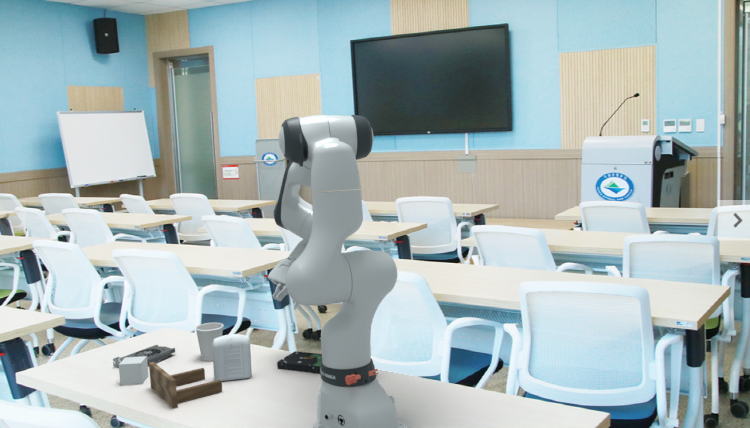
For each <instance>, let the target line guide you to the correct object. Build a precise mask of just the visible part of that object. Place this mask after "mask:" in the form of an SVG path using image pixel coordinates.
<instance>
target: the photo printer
mask: <svg viewBox="0 0 750 428" xmlns="http://www.w3.org/2000/svg"><path fill="white" fill-rule="evenodd" d="M212 350H213V361H212V365H213V367H212V368H213V381H216V380H221V381H222V382H223V381H232V380H243V379H250V378H252V376H253V374H252V373H253V372H252V355H251V354H252V353H251V343H250V338H249V336H248V335H247V334H246V335H245V334H240V333H239V334H238V333H231V334H225V335H222V336H220V337H218V338H215V339H214V342H213V345H212Z"/></svg>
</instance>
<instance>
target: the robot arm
mask: <svg viewBox="0 0 750 428" xmlns="http://www.w3.org/2000/svg"><path fill="white" fill-rule="evenodd" d="M280 127H281V128H280V130H279V134H278V145H279V149H280V151H281V153H282V155H283V157H284V158H285V159H286V160H288V161H289V162H288V164H287V165H286V167H285V170H284V173H283V178H282V182H281V186H280V191H279V196H278V199H277V201H276V204H275V207H274V209H273V219H274V221H275V224H276V225H277V226H278V227H280V228H281V229H282V228H283V229H285V230H286V231H289V232H291V233H292V234H293V235H296V236H297V237H299V238H301V239H302V240H300V241H299V242H298V243H297V245H296V246H295V247H294V248H293V250H292V251H291V252H290V253H289V255H288V257H286V258H283V259H281V260H280V261H278V262H277V264H275V266H274V267H273V268H272V269H271V270H270V272H269V274H268V275H267V278H268V280H269V281H271V282H272V283H273V284H274V285H276V287H275V291H274V293H273V294H272V295H271V297H272V298H273V299H274V300H275V301H278V302H282V300H283V299H284V298H285V297H286V296H287V295H289V297H290V298H291V300H292V301H294V303H295V304H297V305H298V306H299V305H301V306H313V307H314V306H315V307H317V306H318V307H319V306H325V305H332V304H333V305H334V304H340V303H342V305H341V307H340V309H339V310H338V312H337V313H336V314H335V315H334V316H332V317H330V319H328V320H327V321H326V322H325V323H324V325H323V327H322V329H321V332H320V342H321V343H320V344H321V354H322V362H321V367H320V372H321V374H320V379H321V380H322V383H321V386H320V389H319V391H318V393H317V403H316V404H317V407H316V423H314V425H312V428H409V427H408V426H407V425H406V424H405V423H404V422H402V421H401V420H400V419H398V415H397V408H396V405H395V398H394V396H393V395H388V393H387V392H386V391H385V389H384V388H383V386H382V385H381V383H380V382H379V381H378V379H377V375H378V374H379V373H378V372H377V371H378V368H376V367H375V364H374V361H373V359H372V358H371V357H372V354H371V350H372V349H371V350H370V345H371V336H372V335H371V333H372V324H373V322H374V321H373V320H374V317H375V314H376V312H377V310H378V308H379V306H380V304H381V303H382V301H383V300H384V299H385V298H386V296H387V295H388V294H390V293H391V291H393V289H394V287H395V286H396V283H397V279H398V268H397V267H398V266H397V265H396V262H395V260H394V259H393V257H392V256H391V255H390V254H389V253H388V252H386V251H380V250H371V249H369V250H368V249H364V250H356V251H348V252H342V249H343V246H344V243H345V241H346V240H347V239H348V238H349V237H350V236H352V235H354V234H355V233H356V232H358V230H360V227H362V224H363V221H364V213H363V201H362V200H363V198H362V189H361V188H362V186H361V178H360V172H359V167H358V165H359V164H358V161H359V160H361V159H364V158H367V157H368V156H369V155H370V153H371V152H372V149H373V146H374V131H373V128H372V126H371V123H370V121H369V120H368V119H367V118H366V117H365V116H362V115H358V114H357V115H356V114H352V115H343V114H339V115H337V114H330V115H329V114H313V115H308V116H301V117H299V116H294V117H290V118H286V119H285V120H284V121H283V122H282V124H281V126H280ZM357 160H358V161H357ZM301 186H306V187H308V188H309V187H310V188H311V189H310V190H311V191H310V192H311V203H312V204H311V203H309V202H308V201H306V200H304V199H303V198H302V197H301V195H300V190H301Z"/></svg>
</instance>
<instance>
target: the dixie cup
mask: <svg viewBox="0 0 750 428" xmlns="http://www.w3.org/2000/svg"><path fill="white" fill-rule="evenodd" d="M224 326H225V325H224V323H221V322H205V323H202V324H198V325H197V326H196V327H195V332H196V336H197V341H198V347H199V351H200V356H201V360H202V361H203V362H213V350H212V345H213V342H214V339H215V338H218V337H220V336H223V330H224V329H223V328H224Z"/></svg>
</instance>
